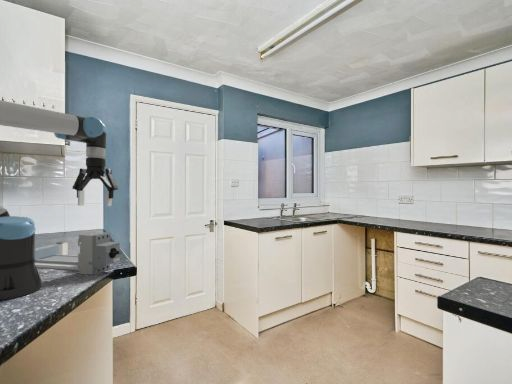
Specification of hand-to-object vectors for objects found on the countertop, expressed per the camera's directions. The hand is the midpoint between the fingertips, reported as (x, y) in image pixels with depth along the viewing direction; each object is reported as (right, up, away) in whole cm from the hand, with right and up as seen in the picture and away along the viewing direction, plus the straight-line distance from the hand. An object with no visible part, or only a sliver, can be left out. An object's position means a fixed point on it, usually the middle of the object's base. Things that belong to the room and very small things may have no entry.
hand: (94, 205), depth 123 cm
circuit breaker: (+10, -26, -12) cm, 30 cm away
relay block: (-25, -25, +14) cm, 39 cm away
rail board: (-12, -25, 0) cm, 28 cm away
